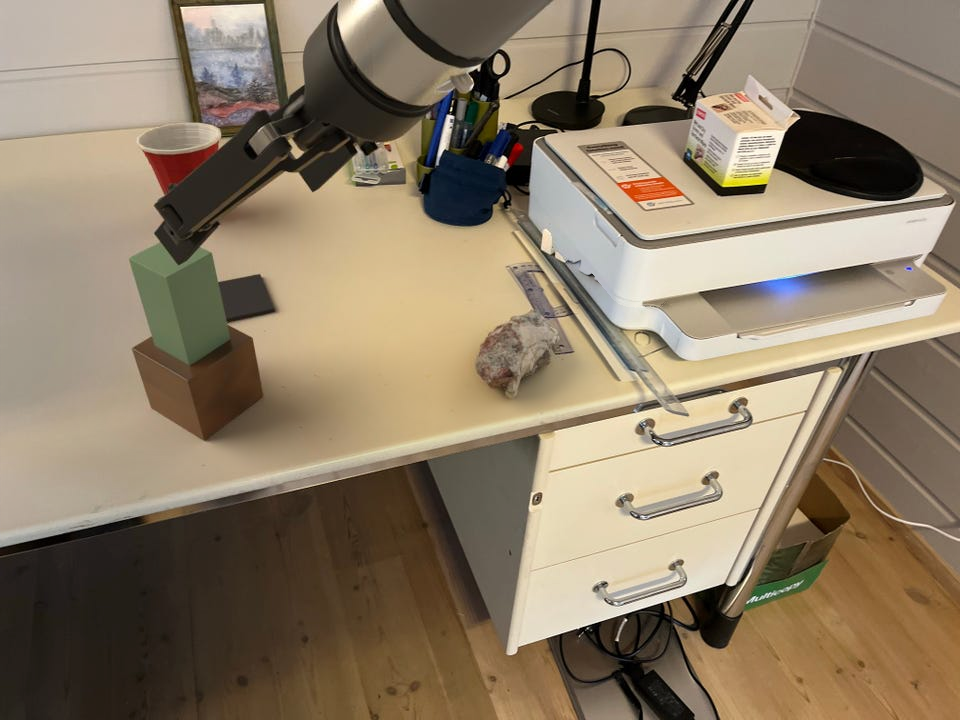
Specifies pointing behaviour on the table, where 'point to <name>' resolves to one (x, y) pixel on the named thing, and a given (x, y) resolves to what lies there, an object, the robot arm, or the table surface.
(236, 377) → the base block
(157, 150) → the plastic cup
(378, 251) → the table surface
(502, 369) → the mineral rock
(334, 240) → the table surface
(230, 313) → the mat
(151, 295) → the top block
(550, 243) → the modular blocks
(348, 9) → the robot arm
